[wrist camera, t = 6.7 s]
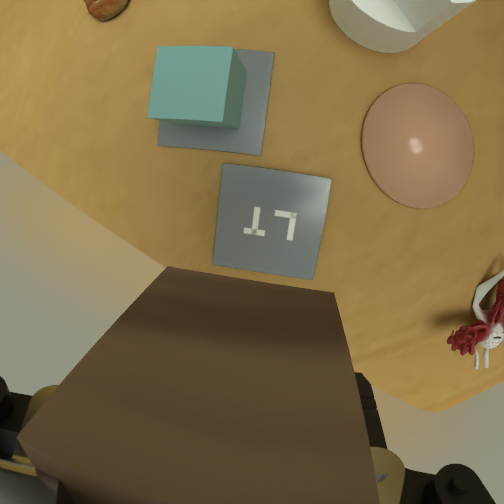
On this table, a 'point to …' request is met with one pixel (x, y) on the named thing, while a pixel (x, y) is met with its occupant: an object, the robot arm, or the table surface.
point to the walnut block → (211, 402)
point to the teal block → (198, 86)
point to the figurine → (482, 324)
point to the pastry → (105, 8)
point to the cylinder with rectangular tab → (392, 20)
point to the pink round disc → (417, 145)
